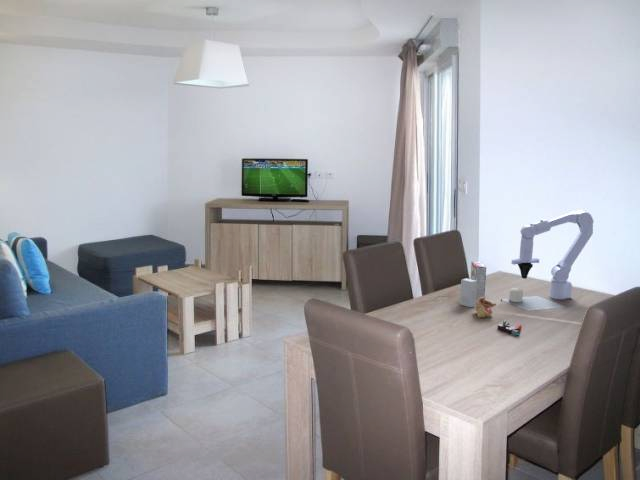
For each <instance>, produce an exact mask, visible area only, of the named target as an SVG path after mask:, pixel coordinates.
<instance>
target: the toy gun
mask: <svg viewBox="0 0 640 480" xmlns="http://www.w3.org/2000/svg"><path fill="white" fill-rule="evenodd" d="M521 329H522V325H521V324H517V325H516V326H510V323H509V322H507V320H506V319H504V320H503V321H502V323H497V330H498V331H500V332H503V333H505V334H508V335H512V337H513V336H514V337H516V336H517V335H518V337H520V335H521V332H520V331H521Z"/></svg>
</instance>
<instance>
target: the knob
mask: <svg viewBox="0 0 640 480" xmlns="http://www.w3.org/2000/svg"><path fill="white" fill-rule="evenodd" d="M523 294H524V289H522V288H518V287H512V288H510V289H509V297H508V299H509V300H511V301H515V302H521V301H522V299H523V297H524V295H523Z"/></svg>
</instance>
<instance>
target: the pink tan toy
mask: <svg viewBox="0 0 640 480" xmlns="http://www.w3.org/2000/svg"><path fill="white" fill-rule="evenodd" d="M495 306H497V304H496V303H493V302H491V301H488V300H486V297H485V296H484V297H481V298H478V299H477V300H476V306H475V307H473V308H474V310H475V311H476V314H477V317H478V318H482V319H484V318H486V317H487V318H490V319H491V318H493V316H492V315H493V310H492V308H493V307H495Z"/></svg>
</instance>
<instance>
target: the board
mask: <svg viewBox="0 0 640 480" xmlns="http://www.w3.org/2000/svg"><path fill="white" fill-rule="evenodd" d="M522 300H523V302H522V303H513V302H510V301H509V298H501V299H500V302H502V301H504V302H507V303H509V304H510V305H513V306H515V307H516V308H520V309H522V310H524V311H526V312H529V311H530V312H531V311H539V310H549V309H558V308H565V306H564V305H561V304H559V303H558V302H553V300H552V301H551V300H550V299H547V298H544V297H541V296H539V295H531V296H523V299H522Z"/></svg>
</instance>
